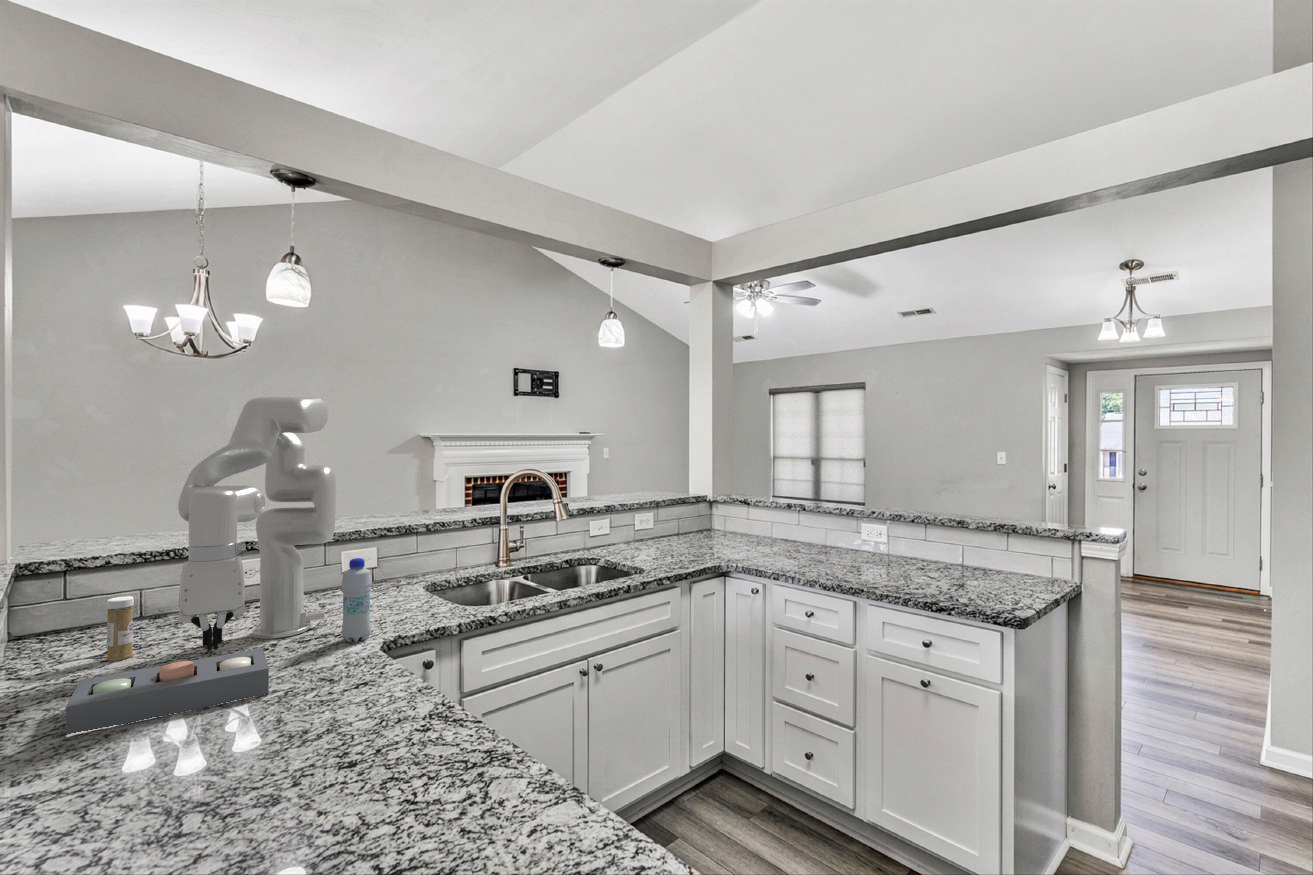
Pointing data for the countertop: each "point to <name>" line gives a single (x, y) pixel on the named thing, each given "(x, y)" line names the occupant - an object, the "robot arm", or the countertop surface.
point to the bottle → (356, 601)
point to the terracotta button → (176, 670)
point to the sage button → (112, 685)
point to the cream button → (235, 663)
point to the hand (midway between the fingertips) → (212, 648)
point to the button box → (165, 692)
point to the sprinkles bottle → (120, 628)
